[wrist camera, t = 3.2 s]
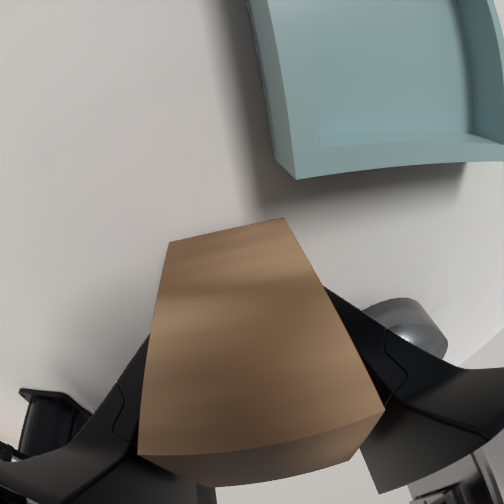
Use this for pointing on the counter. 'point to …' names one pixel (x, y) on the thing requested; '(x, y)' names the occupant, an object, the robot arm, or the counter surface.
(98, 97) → the counter surface
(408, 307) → the crank base
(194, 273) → the block
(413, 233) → the counter surface
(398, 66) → the tray
